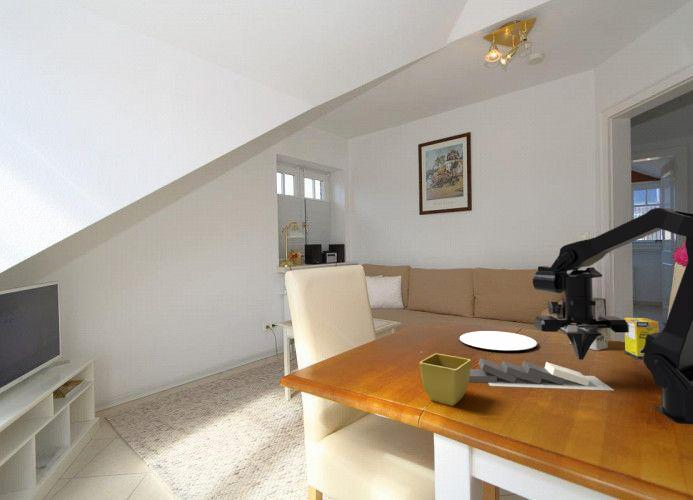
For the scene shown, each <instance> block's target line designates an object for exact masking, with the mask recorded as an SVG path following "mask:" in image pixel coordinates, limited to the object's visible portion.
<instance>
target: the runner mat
mask: <svg viewBox="0 0 693 500" xmlns="http://www.w3.org/2000/svg"><path fill="white" fill-rule="evenodd" d="M584 376H585V377H587V378H588V379H589V380H590V381H589V384H588V386H586V385H582V384H579V383H576V382H573V381H570V380H567V379H564V382H563V384H562V385H560V384H557V383H554V382H551V381H548V380H545V379H543V378H542V379H541V382H540V384H537V383H534V382H531V381H528V380H525V379H522V378H519V377H516V380H515V382H514V383H512V382H509V381H507V380H505V379H502V378H500V377H497V383H488V386H490V387H508V388H509V387H510V388H511V387H513V388H537V389H560V390H562V389H563V390H564V389H565V390H587V391H588V390H590V391H615V389H614V388H612V387H610V386H609V385H608V384H606V383H605V382H603V381H602V380H600V379H599V378H597V377H596V376H594V375H584Z"/></svg>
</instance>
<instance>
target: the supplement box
mask: <svg viewBox="0 0 693 500" xmlns="http://www.w3.org/2000/svg"><path fill="white" fill-rule="evenodd" d="M623 319H624V320H625V321H626V322H627V323H628V325H629V332H628V333H624V350H625V351H624V352H625V354H628V355H629V356H631V357H633V358H635V359H636V360H637V359H639V360H643V355H644V353H640V351H641V350H643V348H644V346H645V341H646V337H647V335H648V334H653V333H657V332H660V327H659V325H660V324H659V321H656V320H653V319H650V318H647V317H624V318H623Z"/></svg>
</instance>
